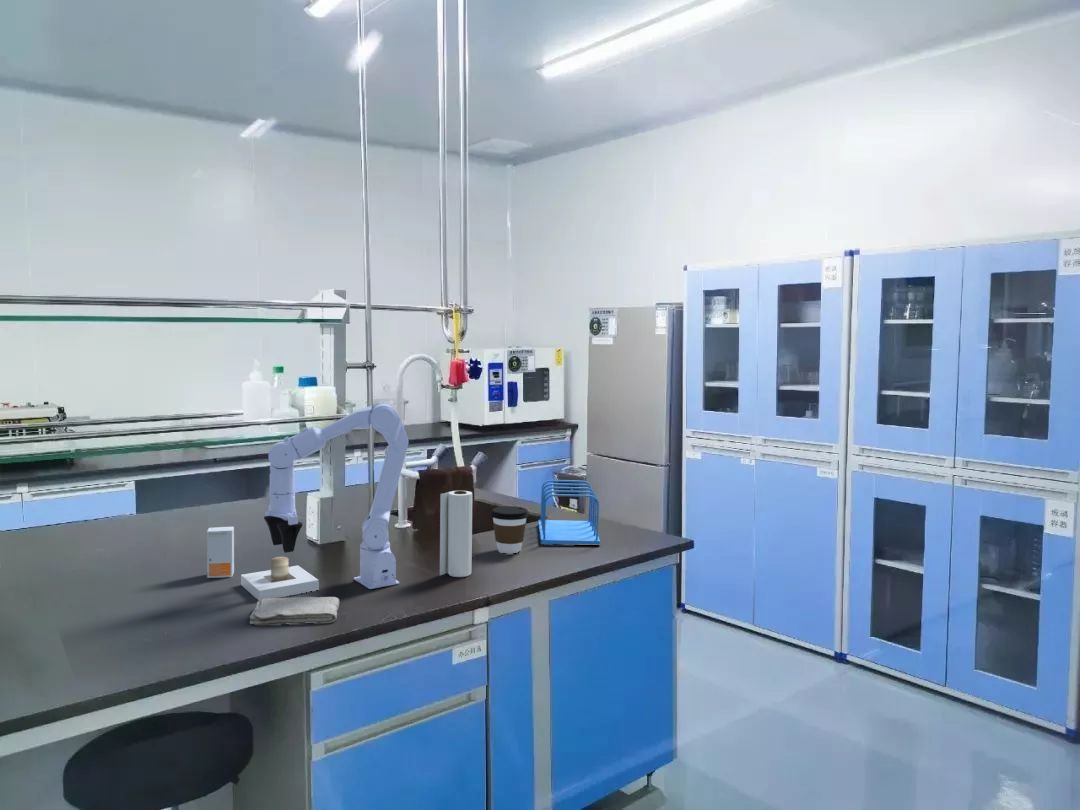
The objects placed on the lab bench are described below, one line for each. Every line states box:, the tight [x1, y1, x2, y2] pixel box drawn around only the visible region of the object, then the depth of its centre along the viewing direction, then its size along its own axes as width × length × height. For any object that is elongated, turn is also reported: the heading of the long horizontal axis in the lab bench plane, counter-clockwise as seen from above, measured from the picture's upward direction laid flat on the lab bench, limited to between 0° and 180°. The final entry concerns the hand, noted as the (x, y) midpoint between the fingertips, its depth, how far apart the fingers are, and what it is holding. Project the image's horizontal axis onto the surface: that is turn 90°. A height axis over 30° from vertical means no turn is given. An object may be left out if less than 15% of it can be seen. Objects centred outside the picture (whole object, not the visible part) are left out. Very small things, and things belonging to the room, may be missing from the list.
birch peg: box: [270, 556, 290, 583], centre depth 190 cm, size 4×4×7 cm
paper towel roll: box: [439, 490, 473, 578], centre depth 202 cm, size 7×6×21 cm
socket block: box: [240, 565, 320, 602], centre depth 190 cm, size 14×14×2 cm
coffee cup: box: [490, 505, 530, 554], centre depth 224 cm, size 11×11×12 cm
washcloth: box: [249, 596, 340, 626], centre depth 172 cm, size 12×18×3 cm, turn 100°
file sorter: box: [537, 479, 601, 545], centre depth 243 cm, size 25×17×15 cm
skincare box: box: [206, 526, 235, 579], centre depth 198 cm, size 6×4×12 cm
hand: (283, 548), depth 190 cm, fingers open, 7 cm apart
